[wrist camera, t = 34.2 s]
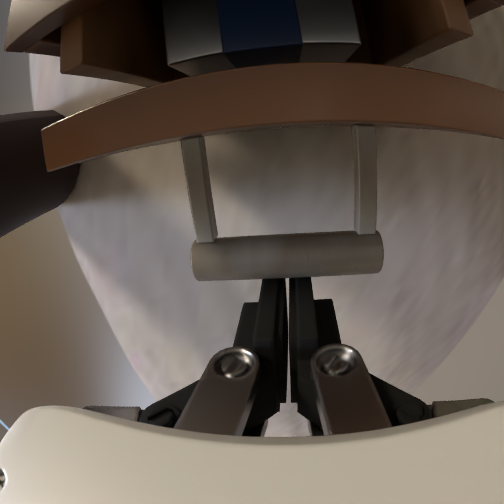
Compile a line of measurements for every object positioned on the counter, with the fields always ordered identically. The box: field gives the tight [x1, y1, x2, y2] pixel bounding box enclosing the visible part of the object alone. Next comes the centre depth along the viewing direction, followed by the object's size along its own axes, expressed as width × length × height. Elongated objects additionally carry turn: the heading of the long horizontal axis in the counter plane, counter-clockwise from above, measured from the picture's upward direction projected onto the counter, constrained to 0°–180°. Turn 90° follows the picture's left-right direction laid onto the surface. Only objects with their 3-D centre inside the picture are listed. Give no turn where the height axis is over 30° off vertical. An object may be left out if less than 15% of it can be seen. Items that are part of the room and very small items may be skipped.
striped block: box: [162, 0, 361, 76], centre depth 7 cm, size 6×4×4 cm
